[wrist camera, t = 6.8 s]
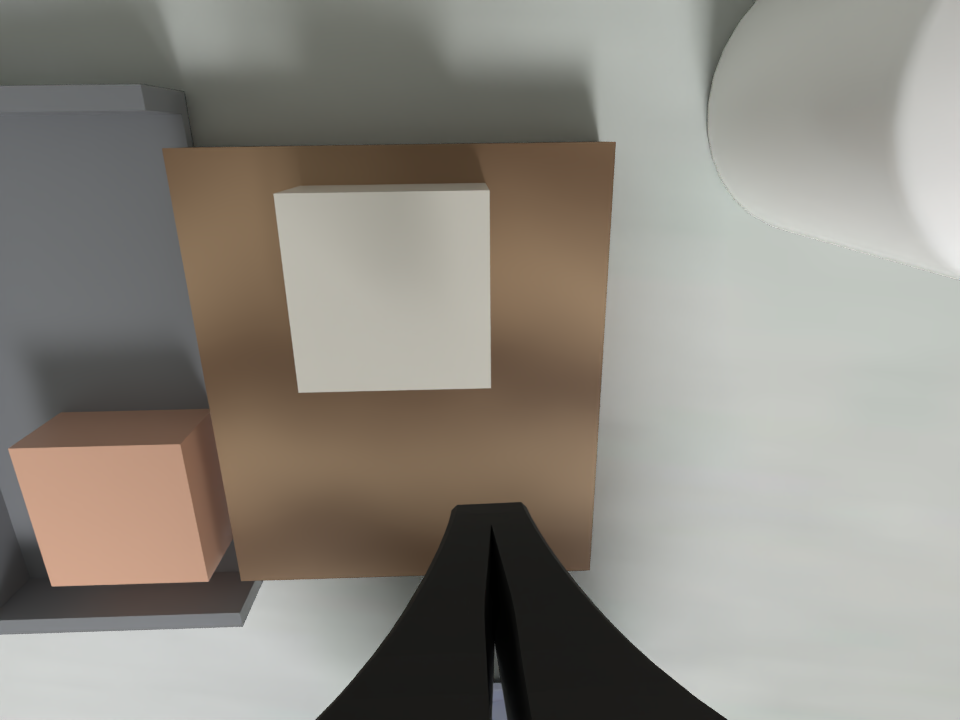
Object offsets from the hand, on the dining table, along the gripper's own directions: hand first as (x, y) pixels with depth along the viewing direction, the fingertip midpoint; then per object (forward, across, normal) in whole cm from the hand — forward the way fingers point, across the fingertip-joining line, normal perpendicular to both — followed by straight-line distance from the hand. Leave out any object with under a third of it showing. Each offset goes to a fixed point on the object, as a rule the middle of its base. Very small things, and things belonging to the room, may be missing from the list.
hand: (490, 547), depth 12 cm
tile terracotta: (+9, +11, +3) cm, 15 cm away
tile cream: (+8, +2, -4) cm, 9 cm away
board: (+10, +2, 0) cm, 10 cm away
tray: (+10, +13, 0) cm, 16 cm away
